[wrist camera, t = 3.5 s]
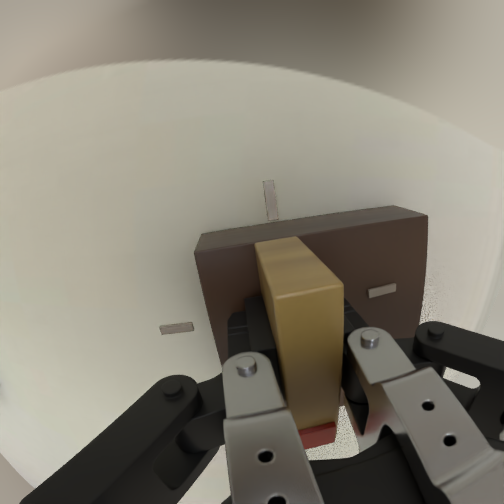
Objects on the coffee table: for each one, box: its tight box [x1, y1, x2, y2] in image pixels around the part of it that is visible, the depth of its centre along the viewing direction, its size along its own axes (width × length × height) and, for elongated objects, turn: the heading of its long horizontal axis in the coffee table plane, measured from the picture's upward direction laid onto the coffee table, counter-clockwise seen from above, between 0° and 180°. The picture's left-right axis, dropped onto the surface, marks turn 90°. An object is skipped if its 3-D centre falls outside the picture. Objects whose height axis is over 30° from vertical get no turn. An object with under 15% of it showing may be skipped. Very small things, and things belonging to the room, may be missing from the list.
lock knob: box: [254, 236, 344, 449], centre depth 9 cm, size 6×2×5 cm, turn 8°
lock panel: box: [159, 180, 428, 406], centre depth 13 cm, size 12×12×3 cm
